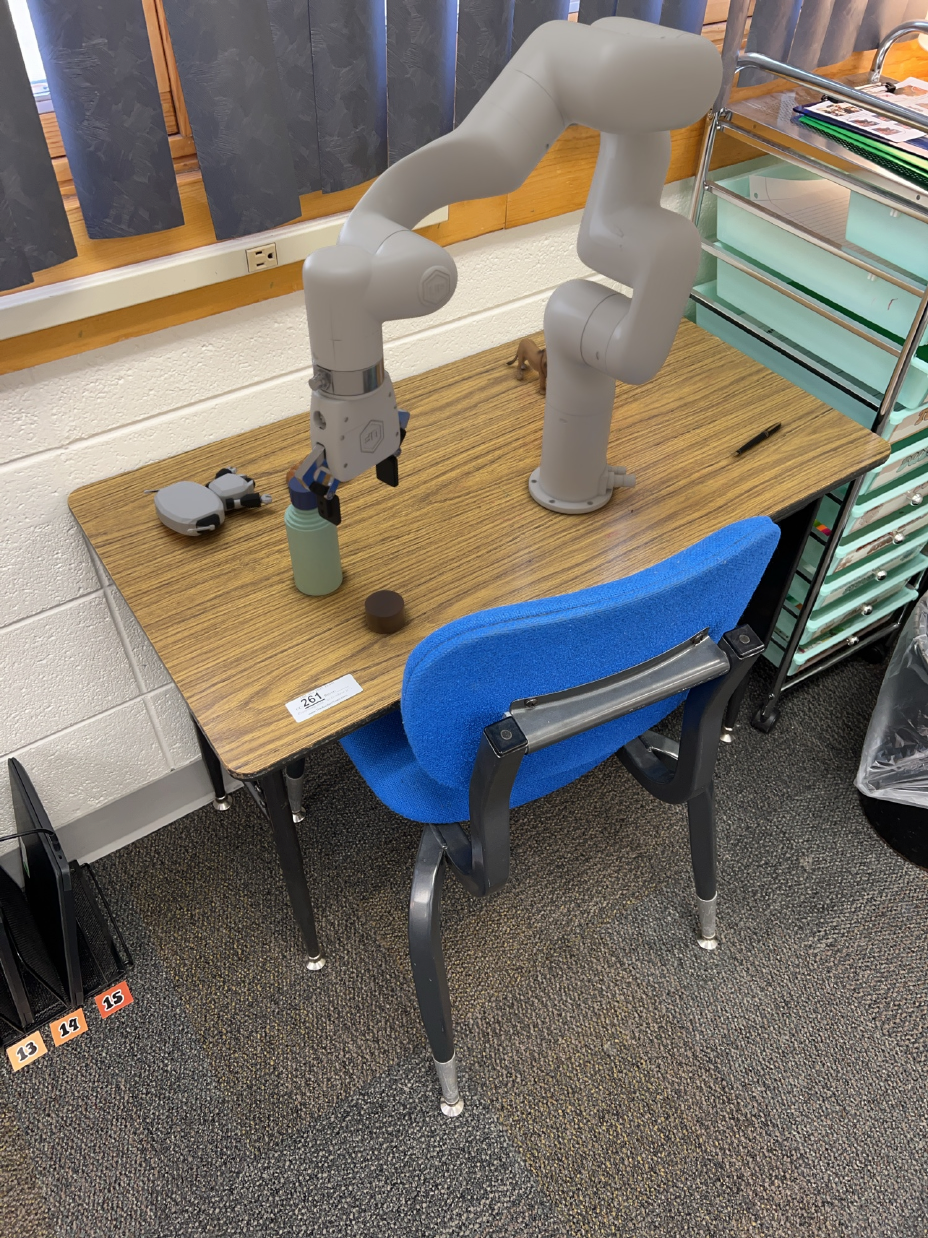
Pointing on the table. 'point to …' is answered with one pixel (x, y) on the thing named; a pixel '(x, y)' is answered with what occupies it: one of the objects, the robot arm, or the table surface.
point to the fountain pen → (758, 438)
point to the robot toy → (205, 501)
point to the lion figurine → (531, 361)
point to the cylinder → (385, 611)
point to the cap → (301, 496)
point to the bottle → (313, 551)
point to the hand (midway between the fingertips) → (359, 500)
